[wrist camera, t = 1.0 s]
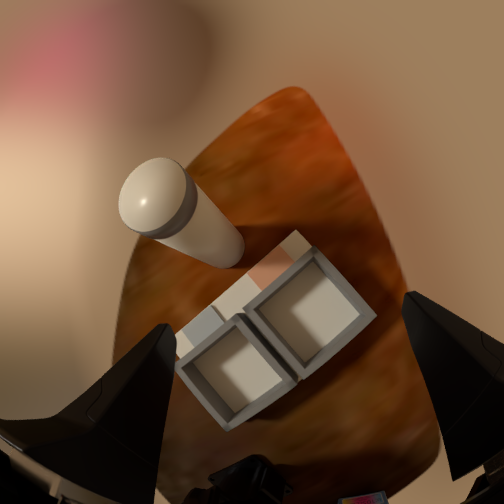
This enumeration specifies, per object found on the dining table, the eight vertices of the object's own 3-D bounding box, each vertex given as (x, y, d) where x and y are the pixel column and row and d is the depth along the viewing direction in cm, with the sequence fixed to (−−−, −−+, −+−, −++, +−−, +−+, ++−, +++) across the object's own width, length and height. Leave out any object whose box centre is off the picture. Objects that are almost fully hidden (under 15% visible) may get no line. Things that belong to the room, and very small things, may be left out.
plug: (220, 278, 25) (139, 249, 12) (194, 246, 26) (108, 195, 13) (254, 248, 25) (202, 189, 12) (226, 217, 26) (161, 143, 13)
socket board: (238, 420, 22) (228, 436, 18) (172, 340, 24) (153, 344, 21) (371, 316, 21) (382, 317, 18) (296, 232, 24) (294, 220, 21)
